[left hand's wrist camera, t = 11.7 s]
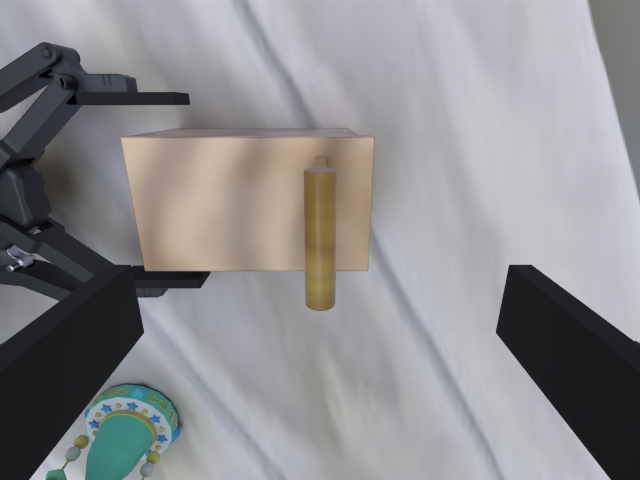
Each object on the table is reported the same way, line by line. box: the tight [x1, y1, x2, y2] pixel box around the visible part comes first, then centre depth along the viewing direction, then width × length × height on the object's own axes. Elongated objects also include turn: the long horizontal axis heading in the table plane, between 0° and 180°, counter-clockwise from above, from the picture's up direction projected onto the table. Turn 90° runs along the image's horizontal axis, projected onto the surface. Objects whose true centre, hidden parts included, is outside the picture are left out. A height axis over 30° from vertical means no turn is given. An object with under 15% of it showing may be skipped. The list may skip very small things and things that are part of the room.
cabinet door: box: [120, 136, 375, 311], centre depth 21 cm, size 16×9×8 cm, turn 90°
